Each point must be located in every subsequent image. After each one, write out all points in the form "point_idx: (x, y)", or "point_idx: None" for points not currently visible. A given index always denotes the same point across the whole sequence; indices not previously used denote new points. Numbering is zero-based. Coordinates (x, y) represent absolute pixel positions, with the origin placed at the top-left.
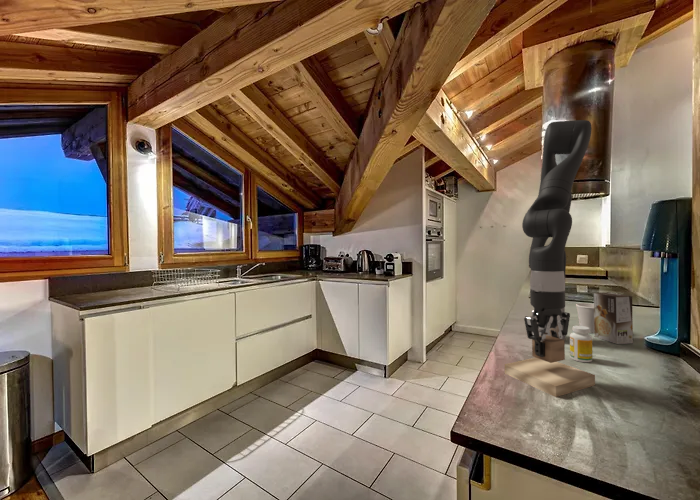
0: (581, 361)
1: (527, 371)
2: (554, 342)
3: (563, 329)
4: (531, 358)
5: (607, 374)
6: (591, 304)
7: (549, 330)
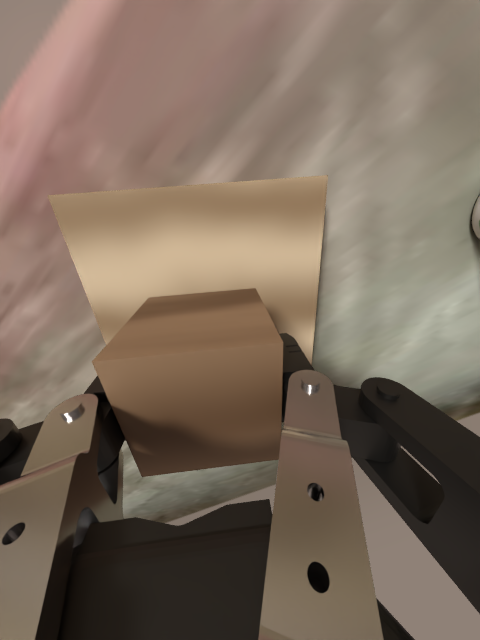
0: (473, 228)
1: (115, 302)
2: (180, 468)
3: (381, 484)
4: (252, 183)
5: (406, 330)
6: None
7: (285, 426)
